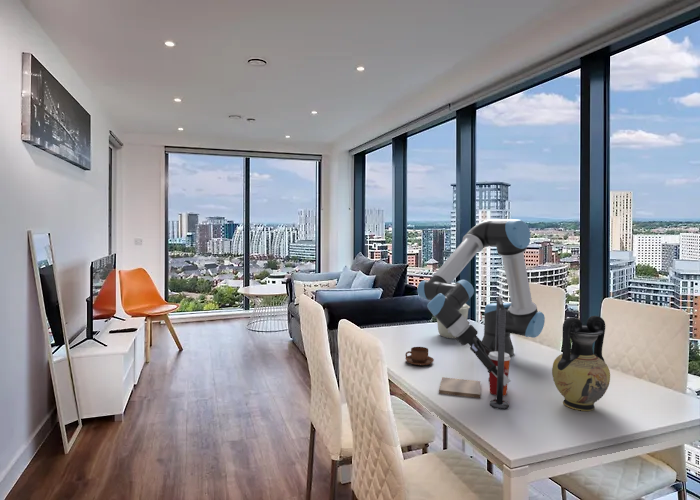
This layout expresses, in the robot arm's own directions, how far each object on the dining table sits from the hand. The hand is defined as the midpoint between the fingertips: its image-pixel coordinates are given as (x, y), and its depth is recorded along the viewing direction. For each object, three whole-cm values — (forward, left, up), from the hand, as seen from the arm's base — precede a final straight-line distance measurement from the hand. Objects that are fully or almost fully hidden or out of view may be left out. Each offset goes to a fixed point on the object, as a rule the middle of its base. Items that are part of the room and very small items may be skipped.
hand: (506, 377), depth 159 cm
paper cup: (+2, -1, -6) cm, 7 cm away
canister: (-19, -79, -6) cm, 82 cm away
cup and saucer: (+16, -40, -6) cm, 43 cm away
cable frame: (+2, -1, -6) cm, 6 cm away
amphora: (-18, +15, -6) cm, 24 cm away
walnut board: (+14, -8, -6) cm, 17 cm away
